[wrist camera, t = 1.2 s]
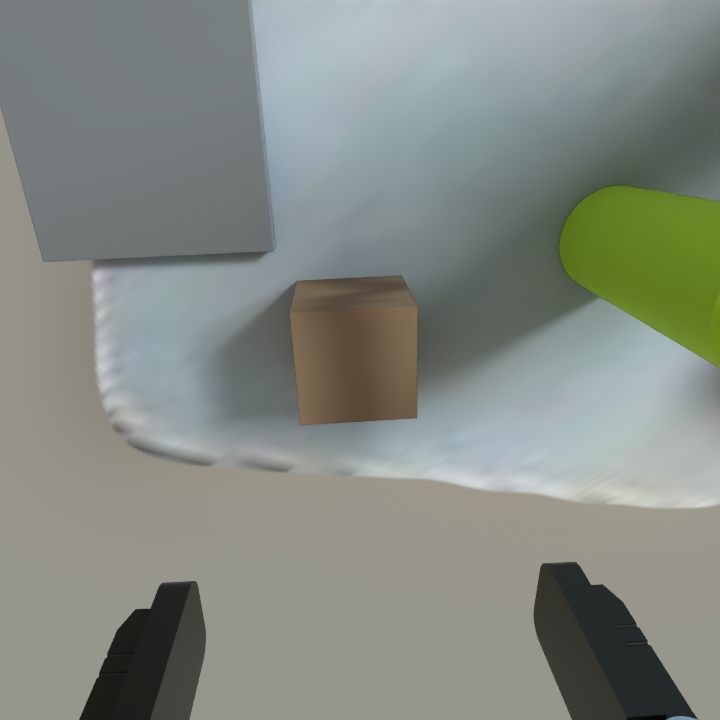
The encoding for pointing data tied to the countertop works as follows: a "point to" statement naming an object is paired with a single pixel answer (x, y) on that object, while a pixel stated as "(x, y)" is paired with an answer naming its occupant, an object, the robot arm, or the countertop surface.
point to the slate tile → (136, 126)
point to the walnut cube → (354, 349)
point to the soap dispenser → (651, 260)
